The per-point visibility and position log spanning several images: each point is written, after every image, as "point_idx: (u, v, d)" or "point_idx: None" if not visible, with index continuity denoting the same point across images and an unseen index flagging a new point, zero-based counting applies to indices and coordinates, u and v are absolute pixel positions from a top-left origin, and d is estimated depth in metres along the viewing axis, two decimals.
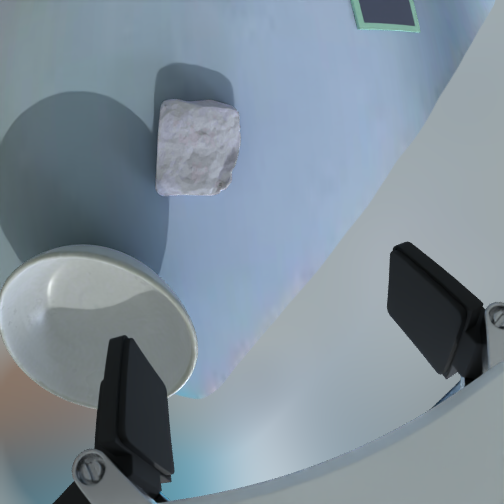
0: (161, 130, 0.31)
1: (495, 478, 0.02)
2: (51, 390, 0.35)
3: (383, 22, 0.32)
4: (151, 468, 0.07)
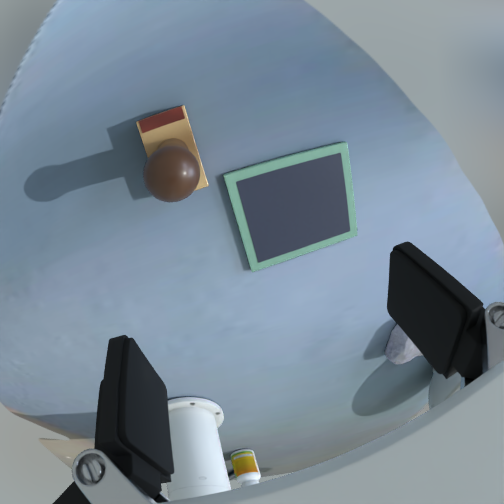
0: None
1: (495, 478, 0.02)
2: None
3: (346, 205, 0.35)
4: (150, 468, 0.07)
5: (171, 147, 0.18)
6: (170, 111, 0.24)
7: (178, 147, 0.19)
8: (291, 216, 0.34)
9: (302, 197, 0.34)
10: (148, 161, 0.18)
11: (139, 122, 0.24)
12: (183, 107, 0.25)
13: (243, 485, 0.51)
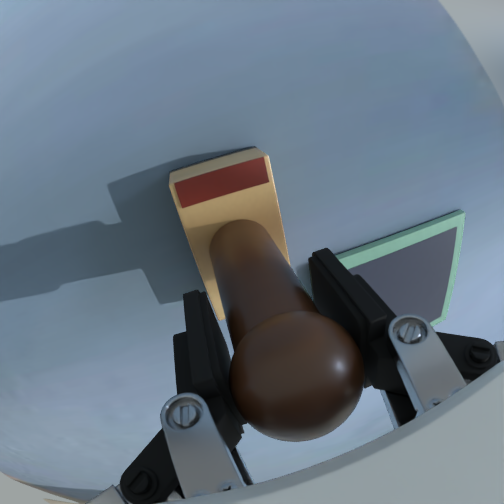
0: None
1: (495, 478, 0.02)
2: None
3: (445, 289, 0.24)
4: (232, 414, 0.08)
5: (317, 341, 0.07)
6: (241, 166, 0.13)
7: (331, 336, 0.07)
8: None
9: (405, 288, 0.22)
10: (254, 378, 0.07)
11: (176, 186, 0.13)
12: (267, 159, 0.13)
13: None
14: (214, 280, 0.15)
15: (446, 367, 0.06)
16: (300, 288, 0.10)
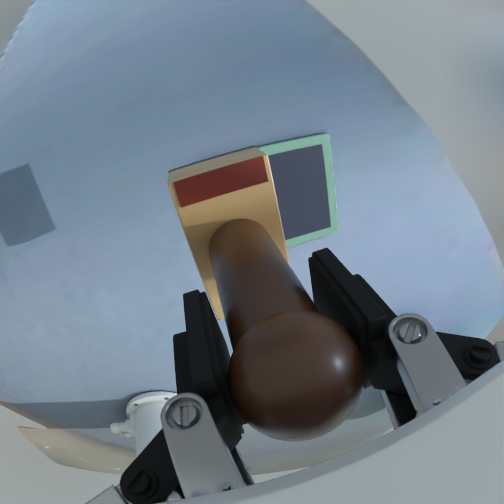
0: None
1: (495, 478, 0.02)
2: None
3: (327, 199, 0.34)
4: (232, 414, 0.08)
5: (315, 340, 0.07)
6: (240, 165, 0.13)
7: (330, 335, 0.07)
8: None
9: (280, 189, 0.32)
10: (253, 377, 0.07)
11: (175, 185, 0.13)
12: (266, 158, 0.13)
13: None
14: (213, 279, 0.15)
15: (446, 367, 0.06)
16: (299, 287, 0.10)
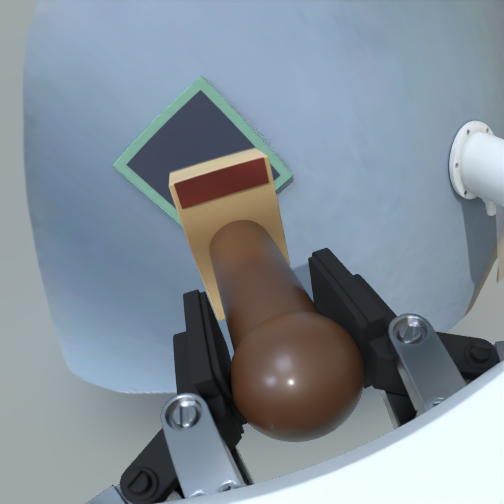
0: None
1: (495, 478, 0.02)
2: None
3: (174, 116, 0.26)
4: (232, 414, 0.08)
5: (317, 341, 0.07)
6: (241, 167, 0.13)
7: (331, 336, 0.07)
8: None
9: None
10: (254, 378, 0.07)
11: (176, 186, 0.13)
12: (266, 159, 0.13)
13: None
14: (214, 280, 0.15)
15: (446, 367, 0.06)
16: (300, 289, 0.10)
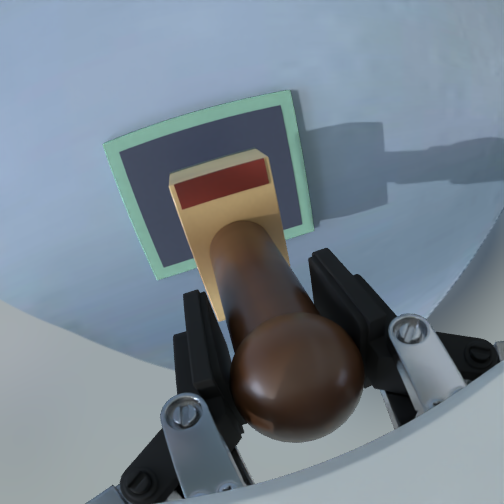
0: None
1: (495, 478, 0.02)
2: None
3: (136, 195, 0.21)
4: (232, 414, 0.08)
5: (317, 342, 0.07)
6: (241, 167, 0.13)
7: (331, 337, 0.07)
8: None
9: None
10: (254, 379, 0.07)
11: (176, 187, 0.13)
12: (267, 160, 0.13)
13: None
14: (214, 281, 0.15)
15: (446, 367, 0.06)
16: (300, 289, 0.10)
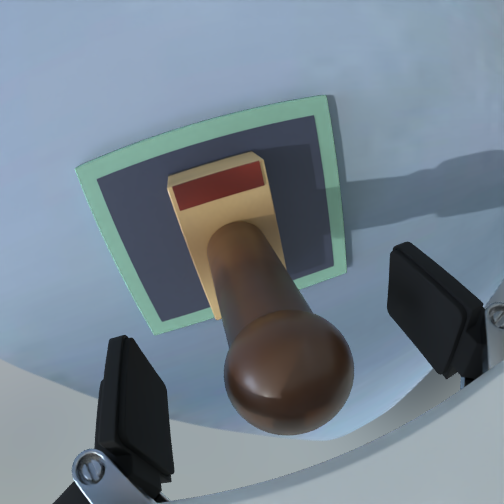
0: None
1: (495, 478, 0.02)
2: None
3: (122, 236, 0.16)
4: (150, 468, 0.07)
5: (306, 338, 0.07)
6: (237, 170, 0.13)
7: (320, 333, 0.08)
8: None
9: None
10: (247, 373, 0.07)
11: (174, 189, 0.13)
12: (262, 163, 0.14)
13: None
14: (211, 281, 0.16)
15: None
16: (293, 288, 0.10)
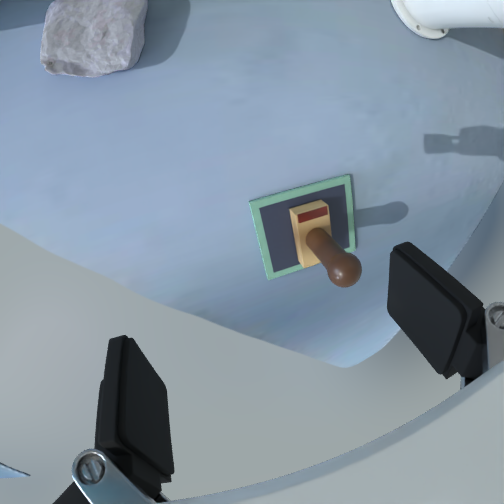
0: None
1: (495, 478, 0.02)
2: None
3: (265, 232, 0.40)
4: (151, 468, 0.07)
5: (350, 256, 0.31)
6: (319, 209, 0.37)
7: (353, 256, 0.32)
8: None
9: None
10: (337, 265, 0.31)
11: (297, 215, 0.37)
12: (327, 206, 0.38)
13: None
14: (305, 250, 0.40)
15: None
16: (342, 248, 0.34)
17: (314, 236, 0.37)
